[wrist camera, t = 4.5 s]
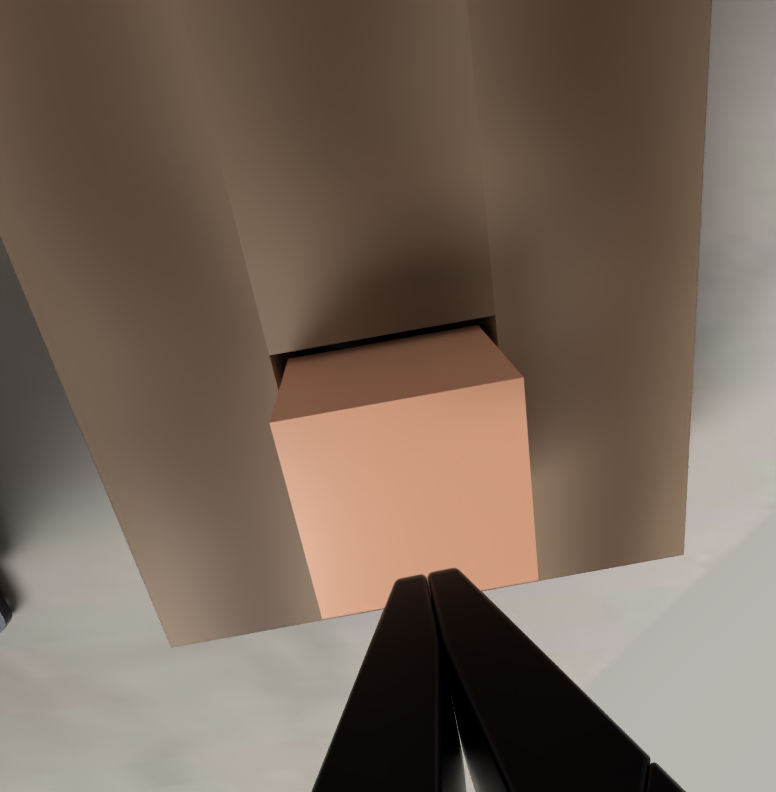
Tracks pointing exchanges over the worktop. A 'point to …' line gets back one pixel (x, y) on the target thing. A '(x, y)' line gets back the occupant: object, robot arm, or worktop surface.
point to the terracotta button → (407, 465)
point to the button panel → (355, 251)
